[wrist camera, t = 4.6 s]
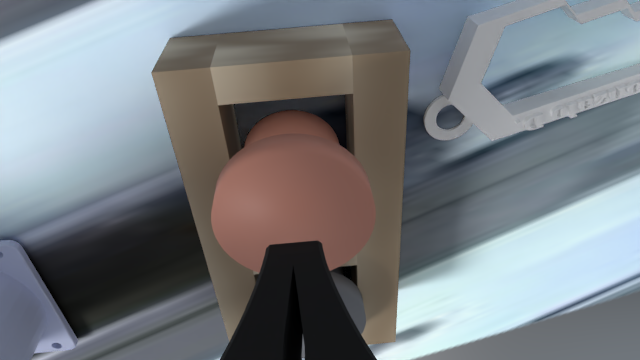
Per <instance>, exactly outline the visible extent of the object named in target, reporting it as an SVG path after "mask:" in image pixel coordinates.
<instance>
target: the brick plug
mask: <svg viewBox="0 0 640 360" xmlns="http://www.w3.org/2000/svg"><path fill="white" fill-rule="evenodd" d="M375 219H376V208H375V203H374V199H373V195H372V191H371V187H370V183H369V179H368V176H367V174H366V171H365V169H364V168H363V166H362V165H361V163H360V162H359V161H358V160H357V158H356V157H355V156H354V155H353V154H351V153H350V152H349V151H348V150H347V149H345V148H344V147H342V146H340V145H339V141H338V138H337V135H336V133H335V132H334V130H333V129H332V127H331V126H330V125H329V124H328V123H327V122H325V121H324V120H323V119H321V118H320V117H318V116H316V115H314V114H311V113H308V112H304V111H298V110H286V111H280V112H276V113H273V114H271V115H268V116H266V117H265V118H263V119H261V120H260V121H259V122H258V123H256V124H255V125H254V126H253V128H252V129H251V130H250V132H249V134H248V135H247V138H246V140H245V145H244V148H243V149H241V150H240V151H239V152H237V153H236V154H235V155H234V156H233V157H232V158H231V159H230V160H229V161H228V162H227V164H226V165H225V166H224V168H223V169H222V171H221V173H220V175H219V178H218V180H217V183H216V189H215V194H214V200H213V205H212V211H211V223H212V229H213V232H214V235H215V237H216V239H217V241H218V243H219V244H220V246H221V247H222V248H223V250H224V251H225V252H226V253H227V254H228V255H229V256H230V257H231V258H233V259H234V260H235V261H236V262H238V263H239V264H241V265H243V266H244V267H246V268H248V269H251V270H253V271H255V272H258V273H259V272H260V269H261V266H262V263H263V259H264V256H265V251H266V248H267V247H268V246H269V245H272V244H283V243H294V242H306V241H317V240H318V241H319V242H321V243H322V246H323V251H324V255H325V259H326V262H327V265H328V268H329V270H330V271H331V270H333V269H335V268H337V267H339V266H341V265H343V264H345V263H346V262H348V261H349V260H350V259H352V258H353V257H354V256H355V255H356V254H358V253H359V252H360V251H361V249H362V248H363V247H364V246H365V245H366V243H367V241H368V240H369V238H370V236H371V234H372V232H373V229H374V225H375Z"/></svg>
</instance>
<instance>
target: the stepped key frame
mask: <svg viewBox="0 0 640 360" xmlns="http://www.w3.org/2000/svg"><path fill="white" fill-rule="evenodd" d="M559 7H561V8H562V9H563V11H564V12H565V13H566V15H567V16H568V17H569V18H571V19H573V20H575V21H576V22H578V23H580V24H583V23H585V22H588V21H591V20H594V19H597V18H600V17H603V16H606V15H609V14H612V13H614V12H617V11H621V12H622V14H623V15H624V16H626V17H628V18H630V19H632V20H634V21H639V20H640V1H639V2H636V3H632V4H629V3H628V1H627V0H589V1H586V2H582V3H579V4H576V5H573V6H569V5H568V3H567V2H566V1H565V0H516V1H513V2H510V3H507V4H504V5H501V6H498V7H495V8H492V9H489V10H486V11H483V12H480V13H477V14H474V15H471V16H468V17H467V19H466V22H465V24H464V27H463V29H462V32H461V34H460V37H459V39H458V42H457V44H456V47H455V49H454V52H453V54H452V57H451V59H450V62H449V64H448V67H447V69H446V72H445V74H444V77H443V79H442V82H441V84H440V87H439V89H440V91H441V92H442V93H443V94H444V95H441V96H439V97H438V98H436V99H435V100H434V101H432V102H431V103H430V105H429V106H428V107H427V109H426V111H425V114H424V120H423V121H424V126H425V129H426V130H427V132H428V133H429V134H430V135H431V136H432V137H433V138H435V139H438V140H452V139H455V138H457V137H459V136H461V135H463V134H464V133H465V132H467V131H468V130H469V128H470V127H471V126H472V124H474V125H475V126H476V127H477V128H479V129H480V130H481V131H482V132H483V133H484V134H485V135H486V136H487V137H488V138H489V139H490V140H492V141H494V140H497V139H500V138H503V137H506V136H509V135H512V134H515V133H518V132H521V131H524V130H535V129H538V128H541V127H544V125H543V124H545V123H548V122H551V121H554V120H557V119H560V118H563V117H566V116H569V117H570V118H574V117H577V115H576V113H579V112H582V111H585V110H588V109H591V108H594V107H597V106H600V105H603V104H606V103H609V102H612V101H615V100H618V99H621V98H624V97H627V96H630V95H633V94H636V93H639V92H640V63H639V64H636V65H633V66H629V67H626V68H623V69H619V70H616V71H613V72H609V73H606V74H603V75H600V76H596V77H593V78H590V79H586V80H583V81H580V82H576V83H573V84H570V85H566V86H563V87H560V88H557V89H553V90H550V91H547V92H543V93H540V94H537V95H533V96H530V97H527V98H523V99H520V100H517V101H514V102H510V103H507V104H504V105H502V104H501V103H500V102H499V101H498V100H497V99H496V98H495V97H494V96H493V95H492V94H491V93H490V92H489V91H488V90H487V89H486V88H485V87H484V86H483V85H482V84H481V82H482V80H483V77H484V75H485V73H486V70H487V68H488V66H489V63H490V61H491V59H492V56H493V54H494V51H495V49H496V47H497V44H498V42H499V40H500V37H501V35H502V33H503V30H504V28H505V26H507V25H510V24H513V23H516V22H519V21H522V20H525V19H527V18H530V17H533V16H536V15H539V14H542V13H545V12H547V11H550V10H553V9H556V8H559ZM451 104H452V105H454V106H455V107H456V108H457V109H458V110H459V111H460V112H461V113H462V114H463V115H464V117H463V120H462V121H461V123H460V124H459V125H457V126H456V127H454V128H451V129H443V128H440V127H439V126H438V125H437V123H436V117H437V115H438V113H439V111H440V110H441V109H442V108H444V107H445V106H448V105H451Z"/></svg>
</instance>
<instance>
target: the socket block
mask: <svg viewBox="0 0 640 360" xmlns="http://www.w3.org/2000/svg"><path fill="white" fill-rule="evenodd" d="M409 65H410V49H409V47H408V46H407V44H406V42H405V41H404V39H403V37H402V35H401V34H400V32H399V30H398V29H397V27H396V25H395V23H394V22H393V20H380V21H368V22H356V23H344V24H332V25H320V26H308V27H296V28H284V29H272V30H261V31H249V32H237V33H225V34H213V35H201V36H189V37H177V38H170V39H169V41H168V42H167V44H166V46H165V48H164V50H163V52H162V54H161V56H160V57H159V59H158V61H157V63H156V65H155V67H154V69H153V70H152V72H151V73H152V76H153V80H154V83H155V86H156V90H157V93H158V97H159V100H160V104H161V107H162V111H163V114H164V118H165V121H166V124H167V128H168V131H169V135H170V138H171V142H172V145H173V149H174V152H175V155H176V159H177V162H178V166H179V169H180V173H181V176H182V180H183V183H184V186H185V190H186V193H187V197H188V200H189V204H190V207H191V211H192V214H193V217H194V221H195V224H196V228H197V231H198V235H199V238H200V242H201V245H202V248H203V252H204V255H205V259H206V262H207V266H208V269H209V273H210V276H211V279H212V283H213V286H214V290H215V293H216V297H217V300H218V304H219V307H220V311H221V314H222V317H223V321H224V324H225V328H226V331H227V335H228V338H229V342H230V340H231V338H232V336H233V334H234V332H235V330H236V328H237V326H238V324H239V322H240V320H241V317H242V315H243V313H244V311H245V308H246V306H247V303H248V301H249V299H250V296H251V294H252V291H253V289H254V286H255V284H256V281H257V278H258V275H259V273H258V272H255V271H253V270H251V269H248V268H246V267H244V266H243V265H241V264H239V263H238V262H236V261H235V260H234V259H233V258H231V257H230V256H229V255H228V254H227V253H226V252H225V251H224V250H223V248H222V247H221V246H220V244H219V243H218V241H217V239H216V237H215V235H214V232H213V229H212V223H211V211H212V205H213V200H214V194H215V189H216V183H217V180H218V178H219V175H220V173H221V171H222V169H223V168H224V166H225V165H226V164H227V162H228V161H229V160H230V159H231V158H232V157H233V156H234V155H235V154H236V153H237V152H239V151H240V150H241V149H242V147H241V141H240V136H239V131H238V126H237V120H236V115H235V110H234V104H239V103H251V102H263V101H274V100H286V99H297V98H309V97H321V96H332V95H344V94H345V112H346V141H347V150H348V151H349V152H350V153H351V154H353V155H354V156H355V157H356V158H357V160H358V161H359V162H360V163H361V165H362V166H363V168H364V169H365V171H366V174H367V176H368V179H369V183H370V187H371V191H372V195H373V199H374V203H375V208H376V219H375V225H374V229H373V232H372V234H371V236H370V238H369V240H368V241H367V243H366V245H365V246H364V247H363V248H362V249H361V251H360V252H359V253H358V254H356V255H355V256H354V257H353V258H352V259H350V260H349V261H348V262H346V263H345V264H343V265H341V266H339V267H342V266H351V281H352V282H353V283H354V284H355V285H356V286H357V287H358V288H359V290H360V292H361V294H362V298H363V303H364V309H365V315H366V325H365V329H364V331H363V333H362V334H361V335H362V337H363V339H364V340H365V342H366V344H367V345H368V344H379V343H389V342H395V336H396V317H397V298H398V278H399V259H400V239H401V220H402V201H403V181H404V162H405V142H406V123H407V104H408V84H409Z"/></svg>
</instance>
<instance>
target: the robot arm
mask: <svg viewBox="0 0 640 360" xmlns="http://www.w3.org/2000/svg"><path fill="white" fill-rule="evenodd" d="M303 338H304V345H305V360H377V359H376V358H375V356H374V355H373V353H372V351H371V350H370V348H369V347H368V345H367V344H366V342H365V340H364V339H363V337H362V335H361V334H360V332H359V330H358V328H357V327H356V325H355V323H354V321H353V319H352V318H351V316H350V314H349V312H348V310H347V308H346V306H345V304H344V302H343V300H342V298H341V296H340V294H339V292H338V290H337V287H336V285H335V283H334V281H333V278H332V275H331V273H330V270H329V268H328V265H327V262H326V259H325V255H324V251H323V246H322V243H321V242H319V241H318V240H317V241H306V242H294V243H283V244H272V245H269V246H268V247H267V248H266V251H265V256H264V259H263V263H262V266H261V269H260V272H259V275H258V278H257V281H256V284H255V286H254V289H253V291H252V294H251V296H250V299H249V301H248V303H247V306H246V308H245V311H244V313H243V315H242V317H241V320H240V322H239V324H238V326H237V328H236V330H235V332H234V334H233V336H232V338H231V340H230V342H229V344H228V346H227V348H226V350H225V351H224V353H223V355H222V357H221V359H220V360H302V339H303ZM77 342H78V339H77V337H76V335H75V334H74V332H73V330H72V329H71V327H70V325H69V324H68V322H67V320H66V319H65V317H64V315H63V314H62V312H61V310H60V309H59V307H58V305H57V304H56V302H55V300H54V299H53V297H52V295H51V294H50V292H49V290H48V289H47V287H46V285H45V284H44V282H43V280H42V279H41V277H40V275H39V274H38V272H37V270H36V269H35V267H34V265H33V264H32V262H31V260H30V259H29V257H28V255H27V254H26V252H25V250H24V249H23V247H22V246H21V245H20V244H19V243H18V242H16V241H13V240H1V241H0V360H31V358H32V356H33V354H34V353H41V352H52V351H63V350H71V349H74V348H75V347H76V344H77Z"/></svg>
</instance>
